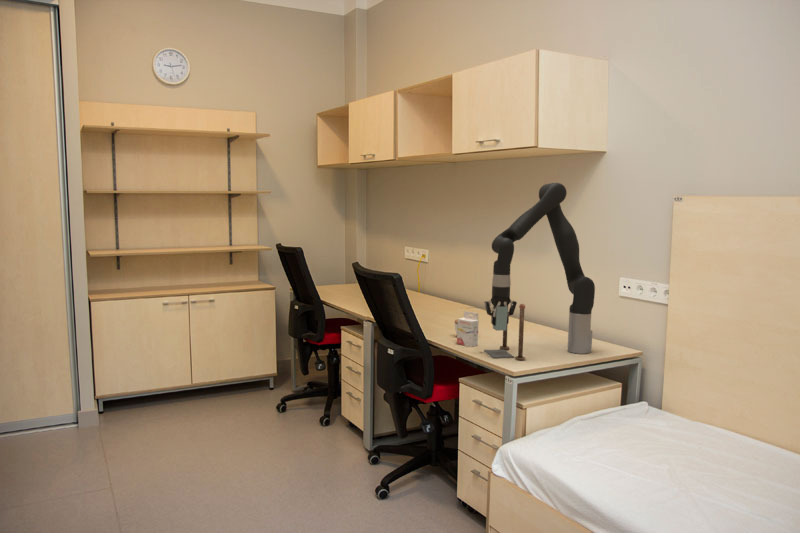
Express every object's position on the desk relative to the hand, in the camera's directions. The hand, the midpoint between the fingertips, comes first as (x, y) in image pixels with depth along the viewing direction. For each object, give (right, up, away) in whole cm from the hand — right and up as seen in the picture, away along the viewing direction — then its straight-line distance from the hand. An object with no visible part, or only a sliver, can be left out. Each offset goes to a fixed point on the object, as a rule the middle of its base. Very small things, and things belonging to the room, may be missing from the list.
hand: (499, 325), depth 254 cm
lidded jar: (-11, -9, +35) cm, 38 cm away
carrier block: (0, -2, 0) cm, 2 cm away
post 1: (+4, -12, +11) cm, 17 cm away
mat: (0, -13, +1) cm, 13 cm away
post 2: (+7, -14, -6) cm, 17 cm away
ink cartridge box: (-12, -11, +18) cm, 24 cm away
